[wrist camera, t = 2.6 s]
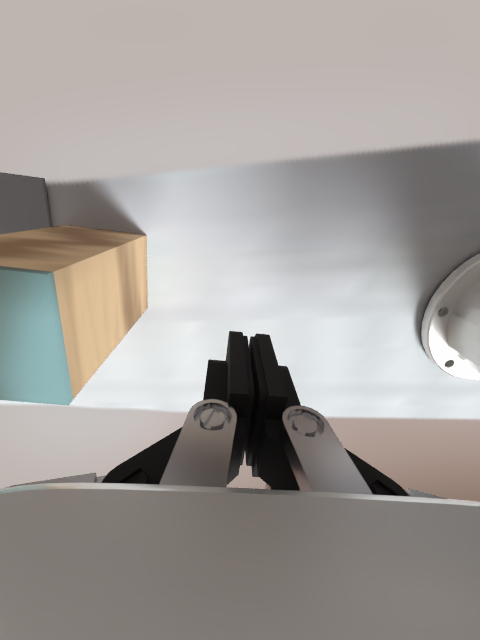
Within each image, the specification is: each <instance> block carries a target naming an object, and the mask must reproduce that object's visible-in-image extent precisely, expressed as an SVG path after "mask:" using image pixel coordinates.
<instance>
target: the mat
mask: <svg viewBox="0 0 480 640" xmlns="http://www.w3.org/2000/svg"><path fill="white" fill-rule="evenodd" d="M49 227H52V225H51V219H50V212H49V205H48V198H47V192H46V185H45V179H44V178H37V177H30V176H23V175H15V174H8V173H0V234H7V233H14V232H21V231H28V230H35V229H42V228H49Z"/></svg>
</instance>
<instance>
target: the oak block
mask: <svg viewBox="0 0 480 640" xmlns="http://www.w3.org/2000/svg"><path fill="white" fill-rule="evenodd" d="M147 308H148V303H147V235H141V234H133V233H125V232H117V231H109V230H101V229H93V228H85V227H77V226H69V225H62V226H55V227H49V228H42V229H35V230H28V231H21V232H14V233H7V234H0V400H9V401H21V402H34V403H46V404H58V405H69V404H70V403H71V402H72V400H73V399H74V398H75V397H76V395H77V394H78V393H79V392H80V390H81V389H82V388H83V387H84V386H85V384H86V383H87V382H88V381H89V379H90V378H91V377H92V376H93V374H94V373H95V372H96V371H97V370H98V368H99V367H100V366H101V365H102V363H103V362H104V361H105V360H106V358H107V357H108V356H109V355H110V353H111V352H112V351H113V350H114V349H115V347H116V346H117V345H118V344H119V342H120V341H121V340H122V339H123V337H124V336H125V335H126V334H127V333H128V331H129V330H130V329H131V328H132V326H133V325H134V324H135V323H136V321H137V320H138V319H139V318H140V317H141V315H142V314H143V313H144V312H145V310H146V309H147Z"/></svg>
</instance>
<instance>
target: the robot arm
mask: <svg viewBox="0 0 480 640" xmlns="http://www.w3.org/2000/svg"><path fill="white" fill-rule="evenodd" d="M421 337H422V343H423V347H424V349H425V351H426V354H427V355H428V357H429V358H430V359H431V360H432V361H433V363H434V364H436V365H437V366H438V367H439V368H440V369H442V370H443V371H445V372H447V373H448V374H450V375H452V376H455V377H458V378H462V379H469V380H480V253H479V254H477V255H475V256H474V257H472V258H470V259H469V260H467V261H465V262H464V263H463V264H462V265H461V266H459V267H458V268H457V269H456V270H454V271H453V272H452V273H451V274H450V275H449V276H448V277H447V278H446V279H445V280H444V282H443V283H442V284H441V285H440V286H439V288H438V289H437V291H436V292H435V293H434V295H433V296H432V298H431V300H430V302H429V304H428V306H427V308H426V310H425V314H424V318H423V321H422V330H421ZM244 453H246V465H247V466H252V476H253V477H260V478H261V479H262V480H263V481H265V482H266V487H265V489H249V488H227V487H226V485H227V484H229V483H230V482H231V481H232V480H233V479H234V478H235V477H236V476H237V475H238V474H239V468H240V465H242V463H243V458H244ZM0 640H480V502H476V501H466V500H453V499H447V498H443V497H439V496H436V495H432V494H428V493H424V492H420V491H417V490H413V489H408V490H407V492H405V490H404V489H403V488H402V487H400V486H399V485H398V484H397V483H396V482H394V481H393V480H392V479H390V478H389V477H387V476H386V475H384V474H383V473H381V472H380V471H378V470H377V469H375V468H374V467H372V466H371V465H369V464H367V463H366V462H365V461H363V460H362V459H360V458H359V457H357V456H356V455H354V454H353V453H351V452H350V451H348V450H347V449H345V448H344V447H343V445H342V444H341V442H340V441H339V439H338V437H337V436H336V434H335V433H334V432H333V429H332V428H331V426H330V425H329V423H328V422H327V420H326V419H325V418H324V417H323V416H322V415H321V414H320V413H319V412H317V411H315V410H313V409H311V408H309V407H305V406H301V405H300V402H299V399H298V396H297V393H296V390H295V387H294V385H293V382H292V379H291V376H290V373H289V370H288V368H287V367H286V366H278V363H277V359H276V356H275V353H274V349H273V346H272V342H271V339H270V336H269V335H265V334H256V335H255V337H251V338H250V343H249V346H248V338H247V336H243V333H242V332H234V331H230V332H229V339H228V347H227V355H226V361H219V360H209V361H208V368H207V376H206V383H205V391H204V399H203V401H200V402H198V403H196V404H195V405H194V406H192V408H191V409H190V411H189V413H188V415H187V418H186V420H185V423H184V425H183V427H181V428H180V429H178V430H176V431H175V432H173V433H171V434H170V435H168V436H166V437H165V438H163V439H161V440H160V441H158V442H157V443H155V444H153V445H151V446H150V447H148V448H147V449H145V450H143V451H142V452H140V453H138V454H137V455H135V456H133V457H132V458H130V459H128V460H127V461H125V462H123V463H122V464H120V465H118V466H117V467H115V468H114V469H113V470H112V471H110V472H109V473H108V474H107V475H106V476H101V477H96V473H90V474H84V475H78V476H71V477H64V478H58V479H51V480H46V481H38V482H32V483H26V484H20V485H14V486H10V487H6V488H3V489H0Z"/></svg>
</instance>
